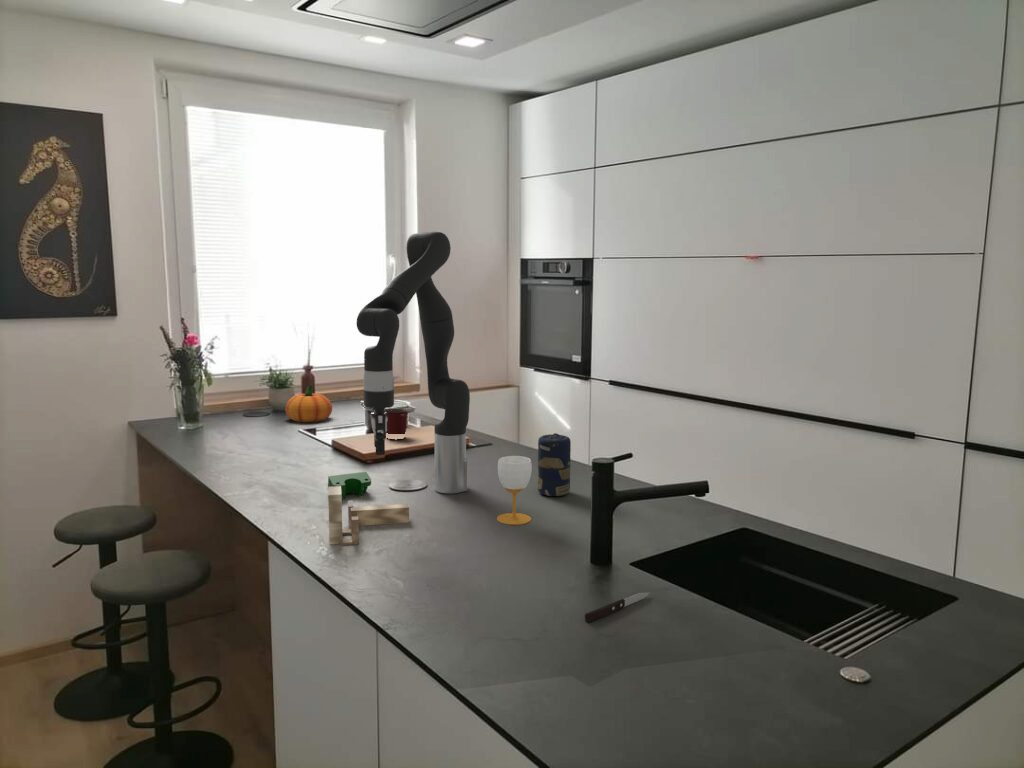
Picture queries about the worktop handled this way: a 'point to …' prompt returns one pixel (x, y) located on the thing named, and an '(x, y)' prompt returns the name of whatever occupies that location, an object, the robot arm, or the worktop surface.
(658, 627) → the worktop surface
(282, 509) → the worktop surface
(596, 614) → the kitchen knife
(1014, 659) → the worktop surface
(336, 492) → the post block
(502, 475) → the cup
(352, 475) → the clamp
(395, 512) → the light wooden bar
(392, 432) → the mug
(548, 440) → the canister
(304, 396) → the pumpkin
